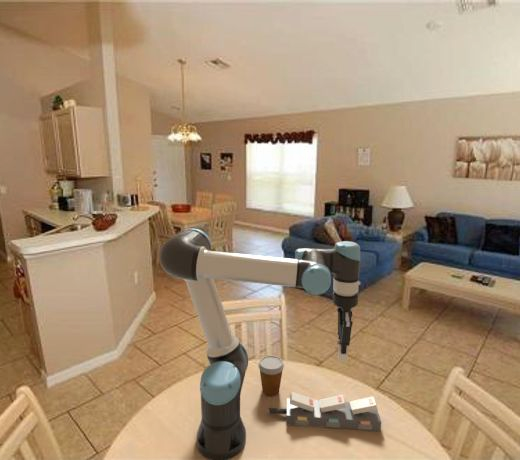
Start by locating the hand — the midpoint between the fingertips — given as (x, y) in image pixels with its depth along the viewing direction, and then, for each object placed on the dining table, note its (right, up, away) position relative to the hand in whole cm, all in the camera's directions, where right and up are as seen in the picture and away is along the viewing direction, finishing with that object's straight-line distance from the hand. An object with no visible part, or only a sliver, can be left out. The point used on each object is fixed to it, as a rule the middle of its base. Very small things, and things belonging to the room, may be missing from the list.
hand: (342, 360), depth 110 cm
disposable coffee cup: (-23, -18, +18) cm, 34 cm away
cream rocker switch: (+7, -16, +2) cm, 18 cm away
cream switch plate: (-3, -15, +3) cm, 16 cm away
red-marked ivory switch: (-13, -15, +4) cm, 20 cm away
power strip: (-6, -21, +4) cm, 22 cm away
